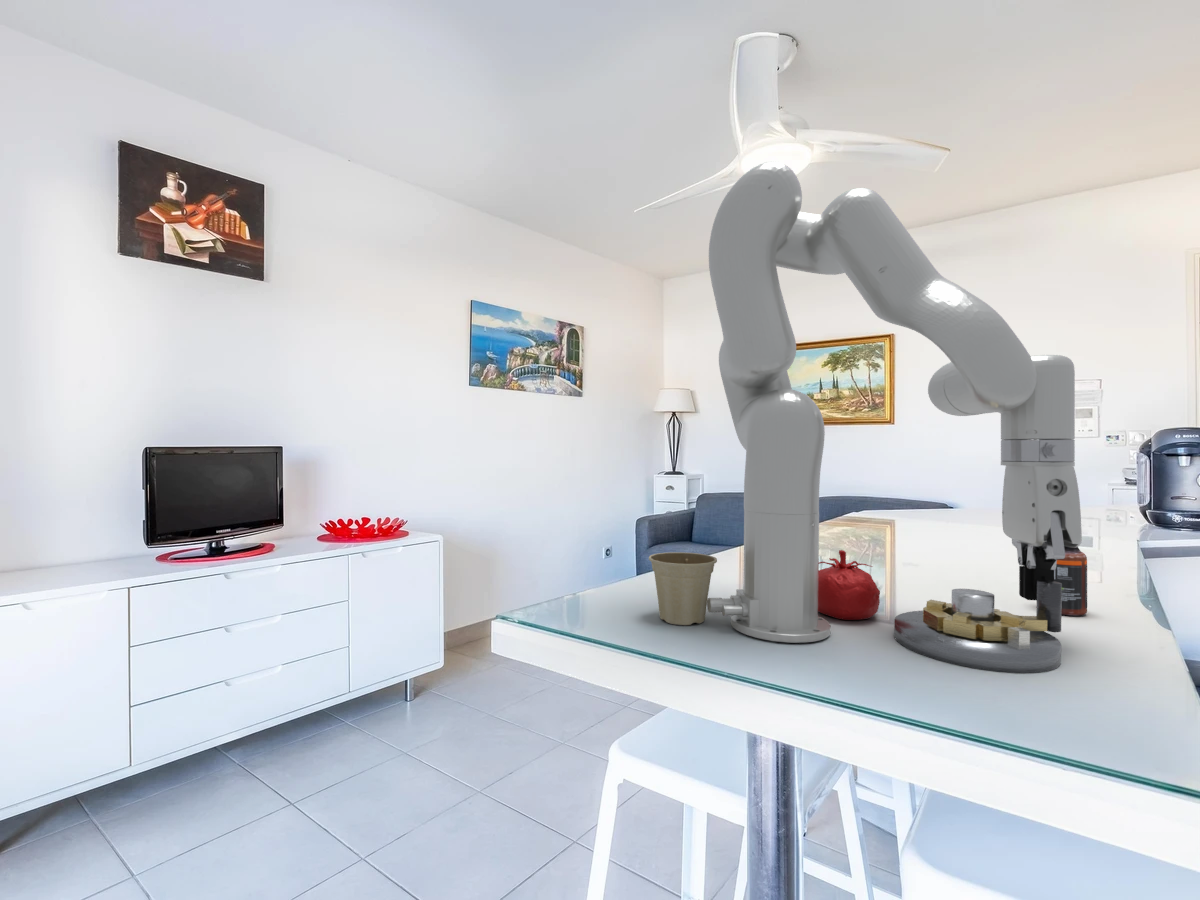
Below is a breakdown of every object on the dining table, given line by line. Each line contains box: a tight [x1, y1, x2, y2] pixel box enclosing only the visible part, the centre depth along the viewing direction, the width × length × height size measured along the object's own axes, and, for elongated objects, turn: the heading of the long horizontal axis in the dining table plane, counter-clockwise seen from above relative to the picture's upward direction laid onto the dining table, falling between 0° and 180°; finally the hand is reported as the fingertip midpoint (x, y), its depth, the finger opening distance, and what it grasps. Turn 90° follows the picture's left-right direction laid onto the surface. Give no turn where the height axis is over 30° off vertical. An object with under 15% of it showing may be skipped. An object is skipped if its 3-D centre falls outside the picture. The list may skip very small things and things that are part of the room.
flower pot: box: [648, 551, 718, 626], centre depth 81 cm, size 9×9×9 cm
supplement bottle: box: [1045, 542, 1088, 617], centre depth 87 cm, size 6×6×11 cm
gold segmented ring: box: [922, 580, 1062, 641], centre depth 71 cm, size 15×10×6 cm, turn 87°
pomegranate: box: [818, 549, 881, 621], centre depth 84 cm, size 10×10×9 cm
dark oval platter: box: [893, 588, 1062, 674], centre depth 71 cm, size 17×17×6 cm
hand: (1036, 598), depth 74 cm, fingers closed
